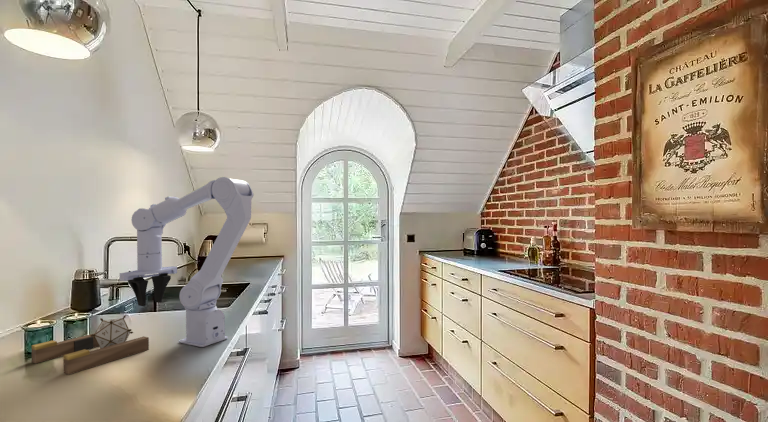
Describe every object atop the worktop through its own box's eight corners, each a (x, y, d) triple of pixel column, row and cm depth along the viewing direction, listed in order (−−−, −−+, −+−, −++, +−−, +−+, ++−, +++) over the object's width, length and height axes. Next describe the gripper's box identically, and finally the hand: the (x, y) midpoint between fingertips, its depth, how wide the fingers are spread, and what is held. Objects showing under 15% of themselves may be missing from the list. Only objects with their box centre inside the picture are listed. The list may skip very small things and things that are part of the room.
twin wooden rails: (148, 349, 98) (148, 334, 98) (68, 374, 83) (68, 356, 83) (111, 340, 106) (111, 326, 106) (31, 362, 91) (31, 345, 91)
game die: (116, 366, 97) (112, 340, 92) (83, 354, 97) (78, 328, 92) (142, 338, 105) (140, 313, 99) (112, 327, 105) (109, 301, 100)
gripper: (166, 250, 115) (166, 297, 115) (112, 255, 102) (113, 308, 102) (181, 251, 112) (182, 299, 112) (128, 256, 99) (128, 310, 99)
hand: (150, 303), depth 107 cm, fingers open, 4 cm apart
